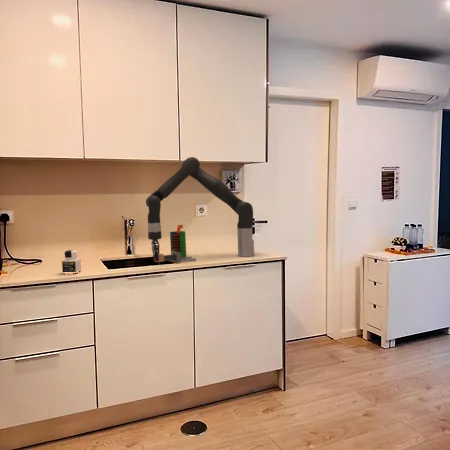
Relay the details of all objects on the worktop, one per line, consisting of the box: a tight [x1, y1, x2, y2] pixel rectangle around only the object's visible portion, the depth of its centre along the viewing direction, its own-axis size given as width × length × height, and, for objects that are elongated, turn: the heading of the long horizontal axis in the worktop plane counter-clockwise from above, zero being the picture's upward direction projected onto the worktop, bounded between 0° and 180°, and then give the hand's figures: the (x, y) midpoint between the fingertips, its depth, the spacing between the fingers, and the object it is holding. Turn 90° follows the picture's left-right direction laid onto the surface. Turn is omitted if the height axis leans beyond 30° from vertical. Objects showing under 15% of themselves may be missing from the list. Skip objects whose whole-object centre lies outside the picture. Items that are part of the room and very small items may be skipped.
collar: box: [172, 250, 196, 264], centre depth 246 cm, size 12×12×6 cm
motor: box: [169, 224, 187, 257], centre depth 262 cm, size 10×9×20 cm
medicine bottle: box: [61, 249, 82, 273], centre depth 218 cm, size 7×7×12 cm
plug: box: [153, 253, 174, 263], centre depth 242 cm, size 11×4×4 cm, turn 109°
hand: (156, 260), depth 241 cm, fingers closed on plug, 4 cm apart
